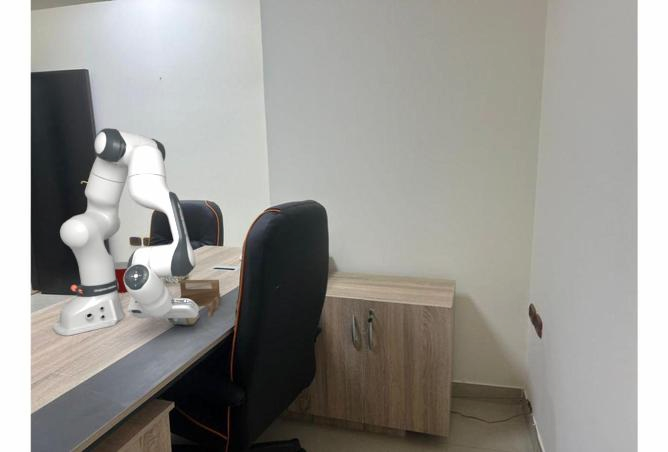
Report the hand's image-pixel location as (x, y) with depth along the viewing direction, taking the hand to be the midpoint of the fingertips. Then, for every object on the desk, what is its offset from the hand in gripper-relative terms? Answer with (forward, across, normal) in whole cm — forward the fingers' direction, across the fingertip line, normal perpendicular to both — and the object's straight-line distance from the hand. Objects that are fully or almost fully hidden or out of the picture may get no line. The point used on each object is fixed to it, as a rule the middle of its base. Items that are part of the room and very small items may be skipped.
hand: (173, 319), depth 147 cm
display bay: (+18, 0, -11) cm, 21 cm away
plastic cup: (+36, +41, -28) cm, 61 cm away
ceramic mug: (+10, 0, -3) cm, 11 cm away
